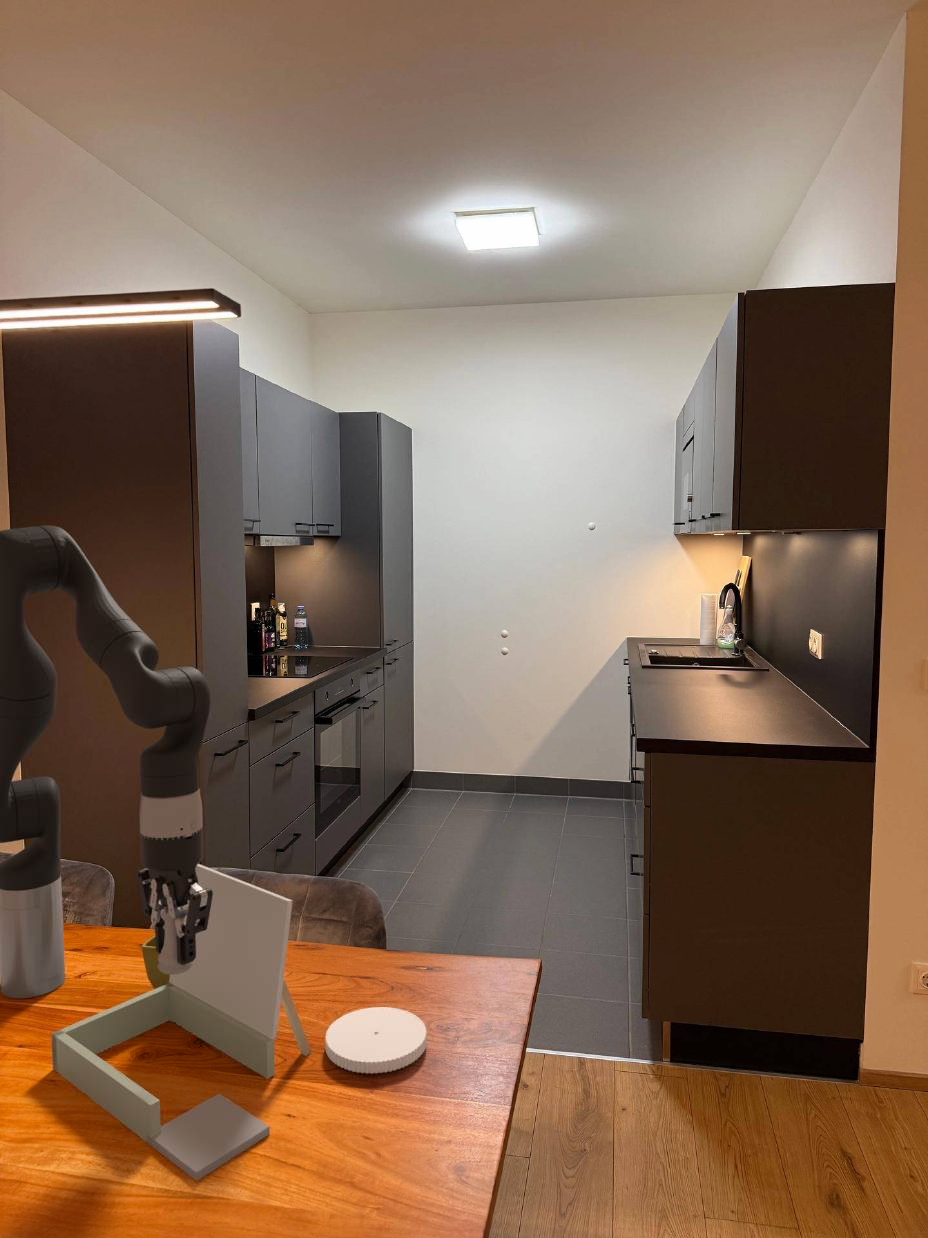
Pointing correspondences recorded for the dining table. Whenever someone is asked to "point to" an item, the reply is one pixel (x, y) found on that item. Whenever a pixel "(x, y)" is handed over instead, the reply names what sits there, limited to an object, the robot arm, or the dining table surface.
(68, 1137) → the dining table surface
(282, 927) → the lid propped
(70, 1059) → the frame
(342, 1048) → the plastic lid
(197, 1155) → the slate tile
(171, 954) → the rook chess piece
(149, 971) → the flower pot
